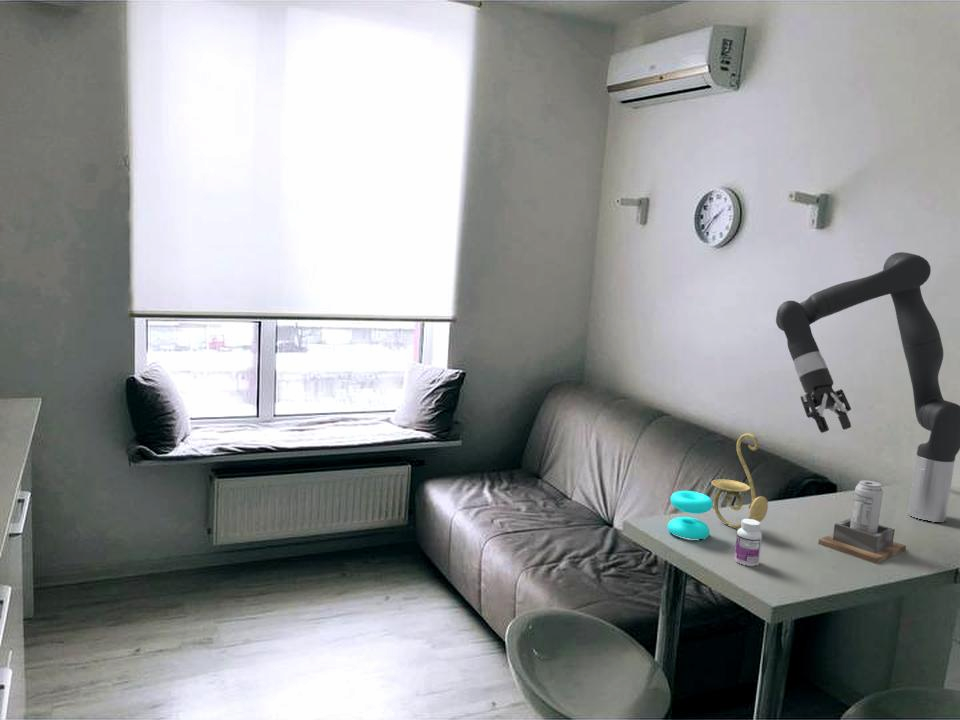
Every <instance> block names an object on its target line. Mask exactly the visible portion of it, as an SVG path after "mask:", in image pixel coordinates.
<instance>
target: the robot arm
mask: <svg viewBox="0 0 960 720" xmlns="http://www.w3.org/2000/svg"><path fill="white" fill-rule="evenodd" d="M931 273H932V272H931V265H930V263H929V261H928V260H927V259H926V258H925V257H922V256H920V255H917V254H914V253H910V252H903V251H901V252H896V253H893V254H891V255H889V256H888V257H887V258H886V260H885V262H884V264H883V269H882V270H881V271H879V272H876V273H874V274H871V275H867V276H865V277H862V278H856V279H853V280H849V281H845V282H840V283H838V284H834V285H832V286H829V287H827V288H824V289H822V290H819V291H817V292H814V293H813V294H811V295H810V296H809V297H808V298H807V299H806V300H804V301H801V302H797V301H795V300H786V301H784V302H782V303H781V304H780V305H779V306H778V308H777V312H776V316H775V323H776V326H777V327H778V328H779V330H781V331H783V332H784V334H785V337H786V341H787V342H786V343H787V348H788V350H789V353H790V356H791V360H792V361H793V364H794V365H793V366H794V369H795V372H796V375H797V376H798V379H799V382H800V383H801V387H802V388H803V391H804V393H805V394H803V395H800V401H801V403H802V406H803V408H804V412H805V414H806V417H807V418H809V419H810V418H812V419H813V420H815V423H816V425H817V427H818V430H819V432H820V433H821V434H823V433H824V434H825V433H826V432H829V430H830V428H829V425H828V423H827V421H826V418H825V416H824V411H825V410H830V411H831V412H834V413H835V414H836V415H837V418H838V421H839V423H840V425H841V428H842V430H843V431H844V430H848V429H850V428H852V423H851V420H850V419H849V417H848V412H849V411H851V410H852V408H851V405H850V403H849V401H848V399H847V397H846V395H845V394H846V393H845V392H844V390H843V389H841V388H840V389H838V390H836V391H835V390H834V389H833V385H834V383H835V382H834V380H833V378H832V374H831V372H830V370H829V368H828V366H827V363H826V361H825V359H824V357H823V355H822V354H821V351H820V349H819V347H818V344H817V342H816V340H815V337H814V335H813V333H812V328H811V325H812V324H814V323H815V322H817V321H819V320H821V319H823V318H827V317H829V316H831V315H834V314H837V313H840V312H842V311H844V310H846V309H849V308H852V307H854V306H857V305H860V304H863V303H865V302H868V301H871V300H874V299H877V298H880V297H883V296H887V295H890V298H891V299H892V302H893V306H894V310H895V311H894V312H895V315H896V320H897V326H898V330H899V334H900V335H899V336H900V338H901V339H900V340H901V344H902V349H903V353H904V357H905V360H906V363H907V368H908V372H909V374H908V375H909V378H910V382H911V387H912V394H913V402H914V409H915V417H916V420H917V422H918V424H919V425H920V426H921V427H922V428H923V429H925V430H927V431H929V432H930V435H929V439H928V441H927V442H925V443H921V444H919V445H918V446H917V451H916V456H915V457H916V458H915V463H914V471H913V476H912V485H911V491H910V498H909V504H908V512H907V514H908V515H909V517H911V516H912V518H913V517H915V518H914V519H916V518H918V519H917V520H919V519H923V520H928V521H933V522H932V523H934V522H942V523H945V522H946V521H947V520H946V519H947V514H948V507H949V500H950V495H951V494H950V493H951V487H952V482H953V481H952V480H953V476H954V475H953V474H954V468H955V462H956V456H957V454H958V453H959V451H960V405H959V404H958V403H954V402H951V401H949V400H945V399H944V398H943V394H942V392H941V388H940V383H939V374H940V370H941V368H942V365H943V360H944V354H945V353H944V347H943V344H942V343H943V342H942V338H941V334H940V330H939V328H938V325H937V324H936V320H935V319H934V318H933V315H932V314H931V312H930V310H929V308H928V307H927V305H926V303H925V301H924V298H923V295H922V290H921V286H923V285H924V284H926V283H927V281H928V280H929V278H930V275H931ZM843 405H844V406H843ZM923 520H922V521H923ZM945 520H946V521H945ZM944 521H945V522H944Z"/></svg>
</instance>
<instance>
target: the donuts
mask: <svg viewBox="0 0 960 720" xmlns="http://www.w3.org/2000/svg"><path fill="white" fill-rule="evenodd" d="M670 503H671V505H672V506H673V507H674V508H676V509H677V510H678V511H681V512H684V513H687V514H694V515H696V514H697V515H700V514H704V513H708V512H709V511H710V510H711V509H712V508H713V507H714V501H713V500H712V499H711V498H710V497H709V496H708V495H707V494H704V493H702V492H701V493H700V492H697V491H692V490H678V491H675V492H674V493H672V494H671V495H670ZM667 530H668V532H669V531H670V532H671V533H673V534H675V535H678V536H681V537H685V538H690V539H703V540H705V539H707V538H708V537H709V536H710V532H711V531H710V528H709V526H708V524H706V523H705V522H704V521H702V520H700V519H697V518H694V517H690V516H689V517H688V516H679V517H673V519H671V520H670V521H669V522H668V524H667ZM670 532H669V533H670ZM671 533H670V534H671ZM704 538H705V539H704Z"/></svg>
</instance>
